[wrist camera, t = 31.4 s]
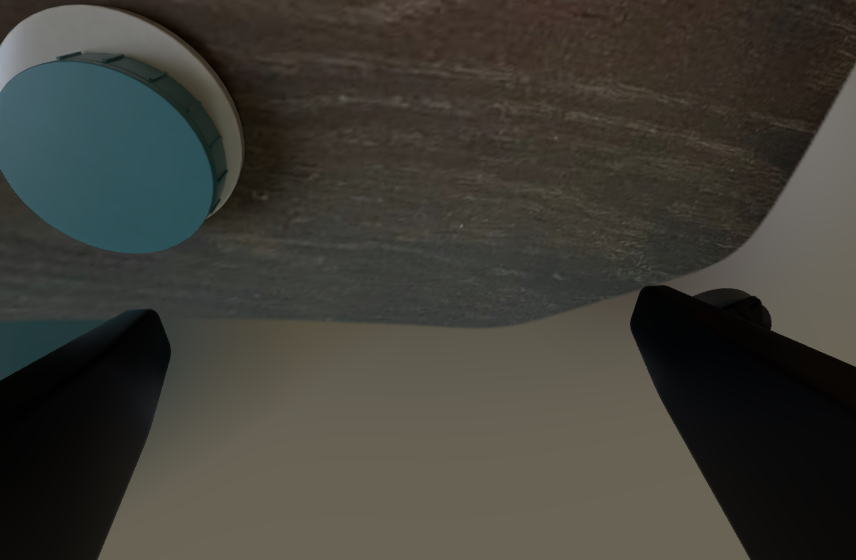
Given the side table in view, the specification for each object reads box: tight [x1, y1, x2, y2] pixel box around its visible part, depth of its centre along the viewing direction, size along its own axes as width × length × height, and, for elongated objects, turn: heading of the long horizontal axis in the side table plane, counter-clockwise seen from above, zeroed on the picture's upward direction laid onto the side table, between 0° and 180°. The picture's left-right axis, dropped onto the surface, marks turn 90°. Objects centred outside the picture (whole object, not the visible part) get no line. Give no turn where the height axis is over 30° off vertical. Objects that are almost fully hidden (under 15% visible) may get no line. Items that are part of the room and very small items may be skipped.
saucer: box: [0, 4, 245, 219], centre depth 16 cm, size 8×8×1 cm
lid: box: [0, 51, 228, 253], centre depth 16 cm, size 7×7×2 cm
